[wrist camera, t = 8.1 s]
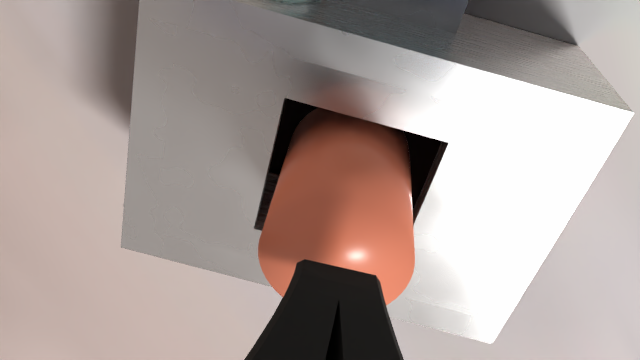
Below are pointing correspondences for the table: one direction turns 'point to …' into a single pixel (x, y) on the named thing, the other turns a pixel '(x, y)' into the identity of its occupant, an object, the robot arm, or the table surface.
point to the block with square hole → (376, 106)
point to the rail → (420, 11)
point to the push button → (342, 203)
